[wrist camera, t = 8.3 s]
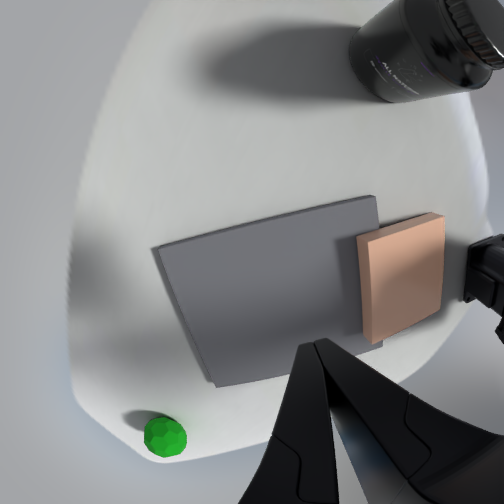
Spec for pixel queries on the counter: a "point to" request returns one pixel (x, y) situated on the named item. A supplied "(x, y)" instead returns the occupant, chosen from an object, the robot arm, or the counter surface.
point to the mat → (273, 288)
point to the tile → (401, 274)
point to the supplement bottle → (429, 48)
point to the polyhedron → (165, 437)
